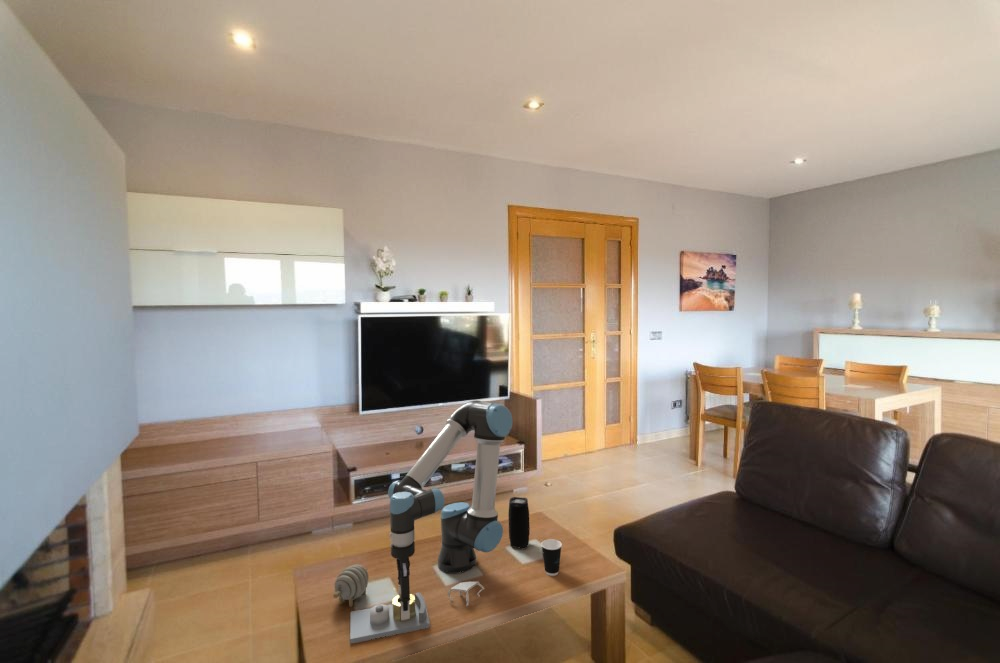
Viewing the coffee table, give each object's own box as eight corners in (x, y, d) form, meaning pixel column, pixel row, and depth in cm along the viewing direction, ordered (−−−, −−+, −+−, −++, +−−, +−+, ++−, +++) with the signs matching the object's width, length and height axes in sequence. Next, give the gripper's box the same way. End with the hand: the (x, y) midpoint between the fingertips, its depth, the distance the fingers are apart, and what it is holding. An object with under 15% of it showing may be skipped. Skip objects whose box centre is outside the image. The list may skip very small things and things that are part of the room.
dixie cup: (562, 578, 180) (562, 549, 179) (541, 577, 181) (540, 548, 180) (562, 567, 188) (561, 539, 187) (541, 566, 189) (541, 538, 188)
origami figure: (459, 611, 161) (459, 597, 161) (446, 600, 168) (446, 586, 168) (488, 598, 169) (488, 584, 168) (475, 587, 175) (474, 574, 175)
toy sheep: (377, 588, 176) (376, 558, 176) (351, 616, 160) (350, 583, 159) (351, 584, 179) (350, 555, 178) (323, 612, 163) (322, 579, 162)
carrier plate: (424, 602, 167) (423, 587, 167) (429, 627, 153) (429, 611, 153) (350, 616, 160) (350, 600, 160) (350, 643, 147) (349, 626, 146)
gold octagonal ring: (413, 606, 162) (413, 591, 162) (416, 619, 156) (415, 603, 155) (392, 610, 160) (391, 595, 160) (394, 623, 154) (393, 607, 153)
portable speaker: (531, 541, 209) (530, 496, 209) (526, 551, 200) (525, 505, 200) (512, 539, 212) (511, 494, 211) (506, 549, 203) (505, 503, 202)
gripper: (388, 530, 166) (390, 596, 166) (393, 558, 146) (394, 633, 147) (411, 527, 168) (412, 592, 168) (418, 554, 149) (419, 628, 149)
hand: (404, 611), depth 158 cm, fingers closed on gold octagonal ring, 7 cm apart
